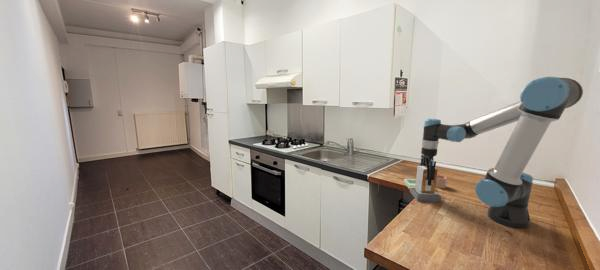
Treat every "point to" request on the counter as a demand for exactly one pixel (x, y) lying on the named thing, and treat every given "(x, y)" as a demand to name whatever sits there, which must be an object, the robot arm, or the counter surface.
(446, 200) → the counter surface
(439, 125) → the robot arm
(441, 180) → the cup
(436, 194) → the grey flat square panel
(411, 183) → the mint green tray
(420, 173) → the small box
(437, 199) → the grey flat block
